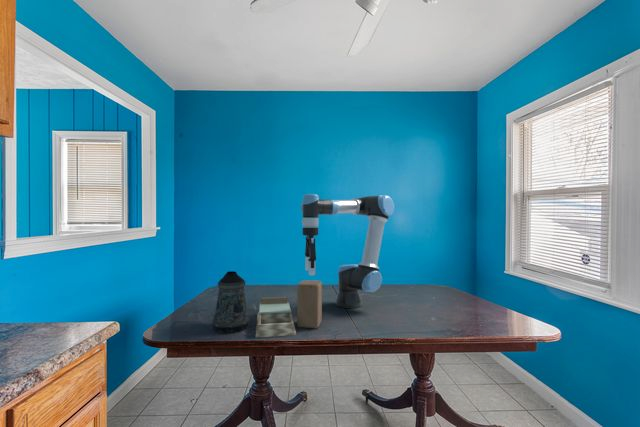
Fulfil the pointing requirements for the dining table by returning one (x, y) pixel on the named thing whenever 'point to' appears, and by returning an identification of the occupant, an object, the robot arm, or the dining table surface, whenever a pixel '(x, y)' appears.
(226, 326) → the beer stein
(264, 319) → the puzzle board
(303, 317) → the wooden block
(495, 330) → the dining table surface
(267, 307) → the lid
